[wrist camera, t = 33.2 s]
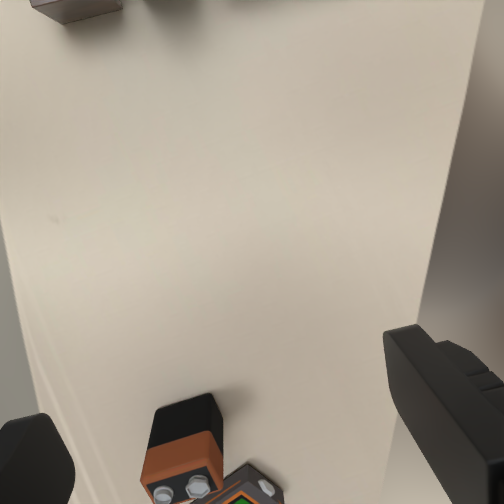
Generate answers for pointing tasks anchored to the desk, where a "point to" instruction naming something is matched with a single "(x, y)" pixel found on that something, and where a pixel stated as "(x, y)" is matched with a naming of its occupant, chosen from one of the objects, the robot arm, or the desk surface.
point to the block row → (74, 8)
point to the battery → (184, 452)
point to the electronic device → (245, 490)
